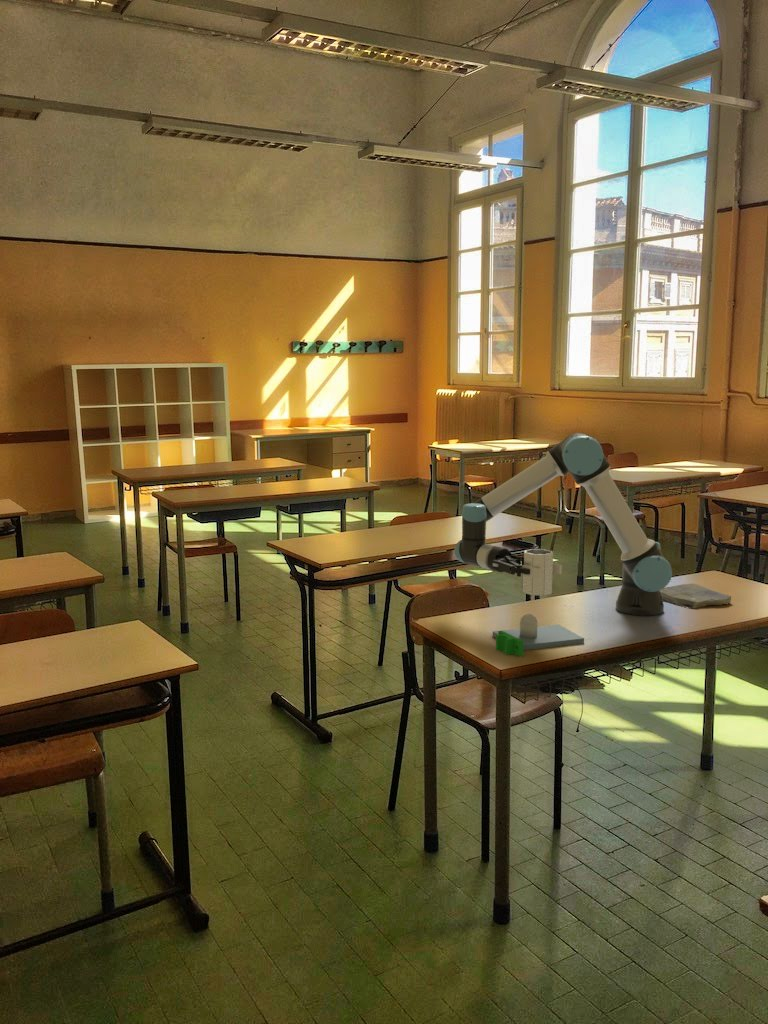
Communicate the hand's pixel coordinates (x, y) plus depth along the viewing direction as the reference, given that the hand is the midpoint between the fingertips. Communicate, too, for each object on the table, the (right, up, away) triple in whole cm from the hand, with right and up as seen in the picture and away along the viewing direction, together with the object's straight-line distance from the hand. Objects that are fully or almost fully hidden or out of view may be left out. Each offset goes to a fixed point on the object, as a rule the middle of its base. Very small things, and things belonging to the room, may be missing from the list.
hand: (550, 571), depth 247 cm
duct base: (-3, -20, +5) cm, 21 cm away
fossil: (+58, -14, +47) cm, 76 cm away
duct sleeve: (-3, -6, +5) cm, 8 cm away
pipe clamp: (-13, -23, -5) cm, 27 cm away
